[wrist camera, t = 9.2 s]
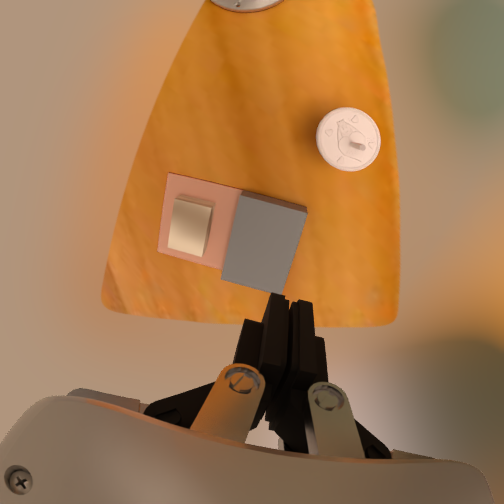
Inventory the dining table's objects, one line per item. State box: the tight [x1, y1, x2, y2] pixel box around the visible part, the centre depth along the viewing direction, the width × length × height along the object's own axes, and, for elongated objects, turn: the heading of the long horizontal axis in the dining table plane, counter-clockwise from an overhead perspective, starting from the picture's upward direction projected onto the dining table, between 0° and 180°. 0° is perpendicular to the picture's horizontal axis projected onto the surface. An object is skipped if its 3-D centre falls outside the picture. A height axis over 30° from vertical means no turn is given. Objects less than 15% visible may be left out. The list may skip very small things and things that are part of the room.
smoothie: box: [316, 107, 381, 171], centre depth 29 cm, size 6×6×14 cm
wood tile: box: [168, 195, 216, 257], centre depth 41 cm, size 7×5×2 cm
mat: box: [157, 172, 243, 270], centre depth 42 cm, size 12×10×1 cm
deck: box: [221, 190, 308, 295], centre depth 41 cm, size 12×8×3 cm
